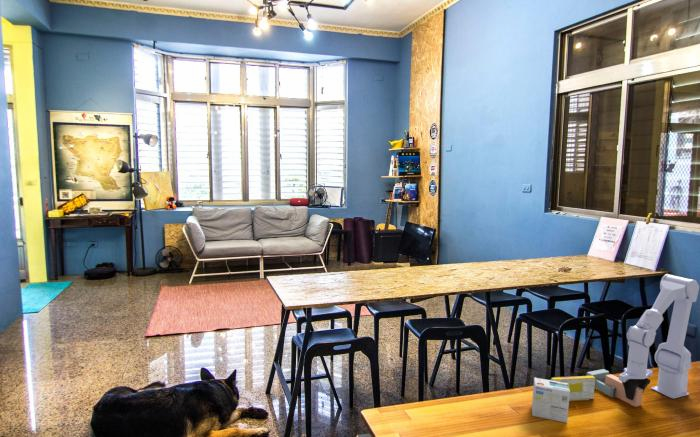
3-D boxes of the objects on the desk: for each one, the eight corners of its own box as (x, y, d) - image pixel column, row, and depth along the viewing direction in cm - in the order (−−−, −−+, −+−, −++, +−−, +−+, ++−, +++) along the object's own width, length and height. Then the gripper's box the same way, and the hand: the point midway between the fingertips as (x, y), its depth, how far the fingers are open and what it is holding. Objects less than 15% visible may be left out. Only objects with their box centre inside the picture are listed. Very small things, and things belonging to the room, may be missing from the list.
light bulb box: (565, 413, 149) (568, 382, 148) (567, 423, 143) (571, 391, 142) (530, 406, 153) (533, 376, 151) (531, 416, 146) (534, 385, 145)
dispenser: (602, 381, 173) (603, 368, 173) (627, 394, 164) (629, 381, 163) (585, 384, 170) (586, 372, 169) (610, 398, 160) (612, 384, 160)
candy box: (590, 397, 161) (592, 375, 160) (594, 400, 159) (596, 377, 158) (548, 399, 158) (551, 376, 157) (552, 402, 156) (554, 379, 155)
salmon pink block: (609, 389, 167) (611, 374, 167) (641, 405, 156) (642, 389, 156) (603, 390, 166) (605, 375, 165) (635, 407, 155) (637, 390, 154)
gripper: (640, 353, 162) (636, 389, 164) (612, 358, 157) (608, 395, 158) (660, 361, 156) (655, 398, 157) (631, 367, 150) (627, 405, 152)
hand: (633, 397), depth 157 cm, fingers open, 3 cm apart
